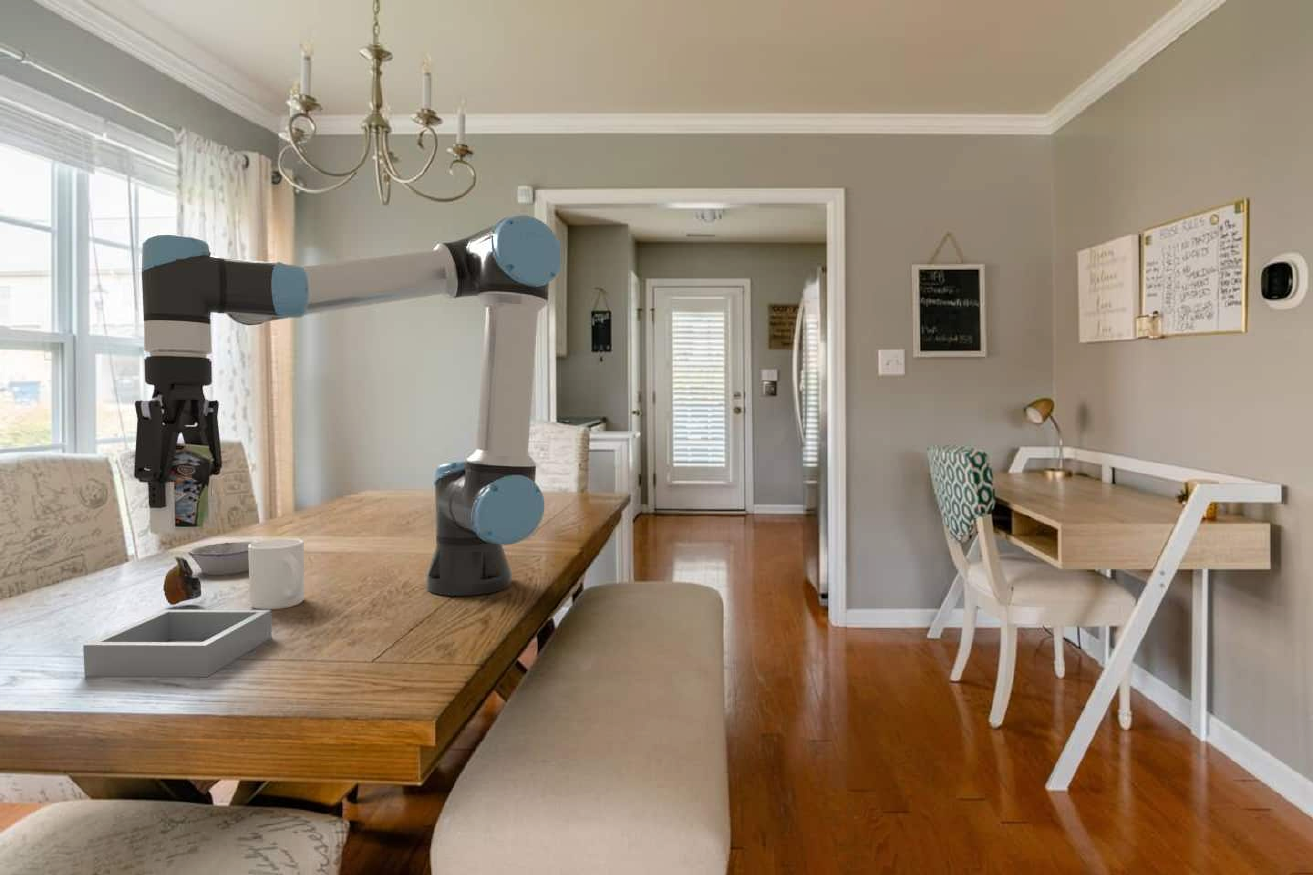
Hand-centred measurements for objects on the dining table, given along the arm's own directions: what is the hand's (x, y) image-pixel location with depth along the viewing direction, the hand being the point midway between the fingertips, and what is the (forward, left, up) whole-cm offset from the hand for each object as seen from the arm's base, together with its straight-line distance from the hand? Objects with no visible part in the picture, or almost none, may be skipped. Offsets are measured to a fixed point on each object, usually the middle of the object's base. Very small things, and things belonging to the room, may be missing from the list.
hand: (182, 526), depth 100 cm
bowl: (+23, -49, -18) cm, 57 cm away
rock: (+14, -23, -18) cm, 32 cm away
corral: (0, 0, -17) cm, 17 cm away
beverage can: (0, 0, -1) cm, 1 cm away
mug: (-1, -24, -18) cm, 30 cm away
